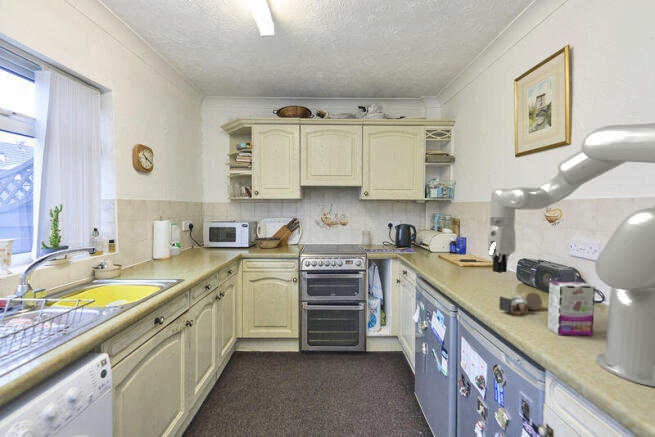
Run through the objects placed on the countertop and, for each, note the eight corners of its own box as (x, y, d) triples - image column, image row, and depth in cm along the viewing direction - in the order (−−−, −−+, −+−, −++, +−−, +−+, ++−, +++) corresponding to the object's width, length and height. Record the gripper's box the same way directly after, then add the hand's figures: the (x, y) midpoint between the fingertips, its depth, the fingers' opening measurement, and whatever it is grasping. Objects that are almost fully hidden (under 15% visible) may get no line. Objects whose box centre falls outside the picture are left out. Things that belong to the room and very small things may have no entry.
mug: (521, 302, 116) (536, 286, 111) (533, 320, 107) (549, 303, 102) (505, 297, 116) (519, 281, 111) (516, 315, 107) (531, 298, 102)
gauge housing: (519, 315, 100) (519, 306, 100) (499, 309, 106) (500, 300, 106) (528, 313, 103) (528, 304, 103) (508, 306, 109) (508, 298, 109)
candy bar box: (578, 329, 90) (581, 281, 89) (593, 336, 85) (596, 286, 84) (545, 328, 90) (548, 281, 89) (558, 335, 85) (561, 285, 84)
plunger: (510, 313, 99) (511, 300, 99) (497, 308, 104) (497, 296, 103) (526, 308, 104) (527, 296, 104) (513, 303, 109) (513, 292, 108)
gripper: (500, 223, 91) (497, 276, 92) (525, 223, 98) (522, 271, 99) (478, 222, 97) (476, 271, 98) (503, 221, 104) (501, 267, 105)
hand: (499, 271), depth 99 cm, fingers closed
